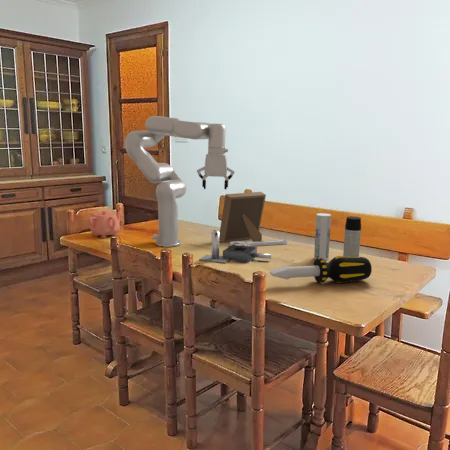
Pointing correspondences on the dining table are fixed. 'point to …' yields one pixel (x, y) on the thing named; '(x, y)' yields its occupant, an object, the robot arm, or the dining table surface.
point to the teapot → (105, 223)
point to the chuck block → (243, 253)
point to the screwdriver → (329, 270)
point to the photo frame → (242, 217)
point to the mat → (208, 258)
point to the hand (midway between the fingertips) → (215, 188)
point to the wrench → (259, 243)
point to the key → (215, 244)
